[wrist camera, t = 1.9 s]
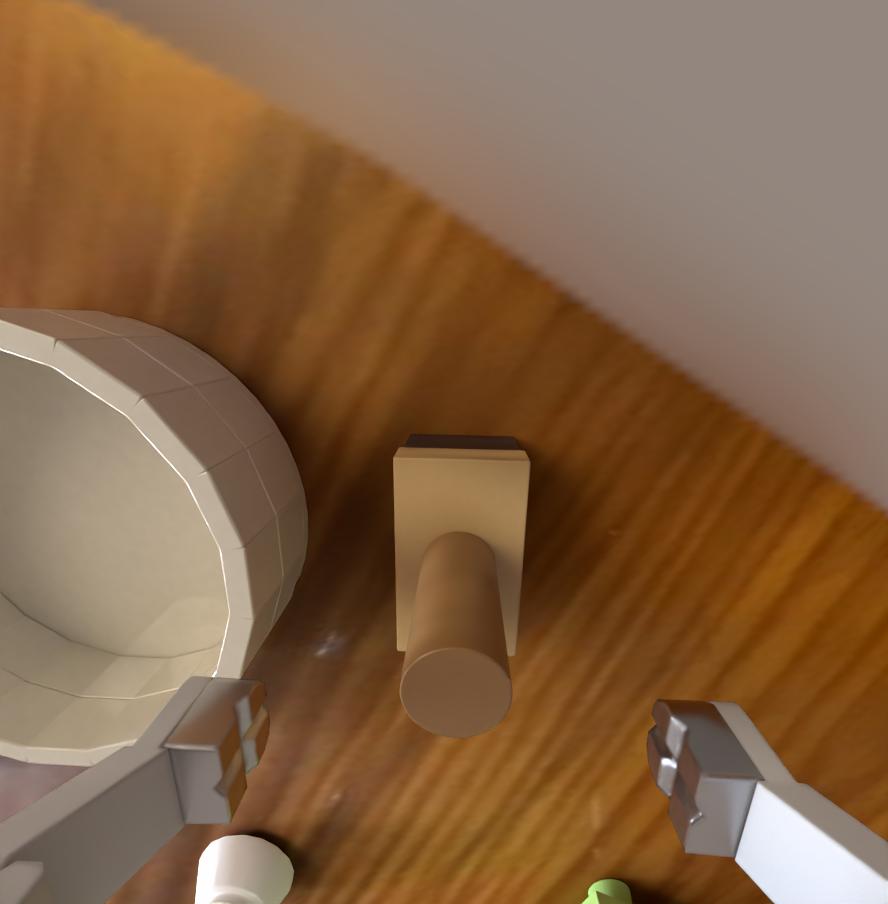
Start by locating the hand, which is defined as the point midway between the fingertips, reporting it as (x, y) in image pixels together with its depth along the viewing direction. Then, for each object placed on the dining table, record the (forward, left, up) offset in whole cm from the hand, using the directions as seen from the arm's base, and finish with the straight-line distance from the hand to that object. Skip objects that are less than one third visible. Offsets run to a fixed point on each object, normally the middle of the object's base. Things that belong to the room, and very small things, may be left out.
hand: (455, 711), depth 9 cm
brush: (0, 0, -9) cm, 9 cm away
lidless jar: (+21, -11, -9) cm, 25 cm away
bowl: (0, -14, -9) cm, 17 cm away
